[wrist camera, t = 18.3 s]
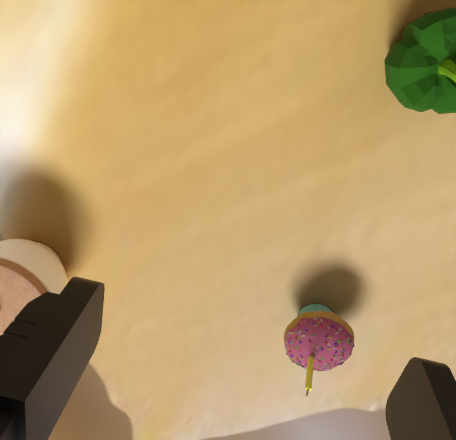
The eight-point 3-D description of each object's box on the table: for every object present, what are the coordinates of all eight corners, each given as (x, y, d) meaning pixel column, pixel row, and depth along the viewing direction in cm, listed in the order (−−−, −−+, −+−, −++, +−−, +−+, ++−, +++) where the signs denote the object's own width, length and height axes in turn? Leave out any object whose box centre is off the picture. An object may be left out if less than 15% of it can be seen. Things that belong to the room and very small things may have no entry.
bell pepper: (362, 35, 40) (386, 44, 31) (453, -9, 37) (507, -13, 28) (388, 116, 43) (418, 145, 34) (474, 79, 40) (529, 101, 31)
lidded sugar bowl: (0, 294, 60) (-54, 351, 50) (-17, 216, 54) (-82, 263, 44) (86, 306, 59) (47, 366, 49) (78, 228, 53) (33, 279, 43)
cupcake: (300, 348, 58) (305, 425, 48) (271, 305, 55) (270, 376, 45) (359, 328, 55) (378, 404, 45) (332, 281, 53) (345, 351, 42)
